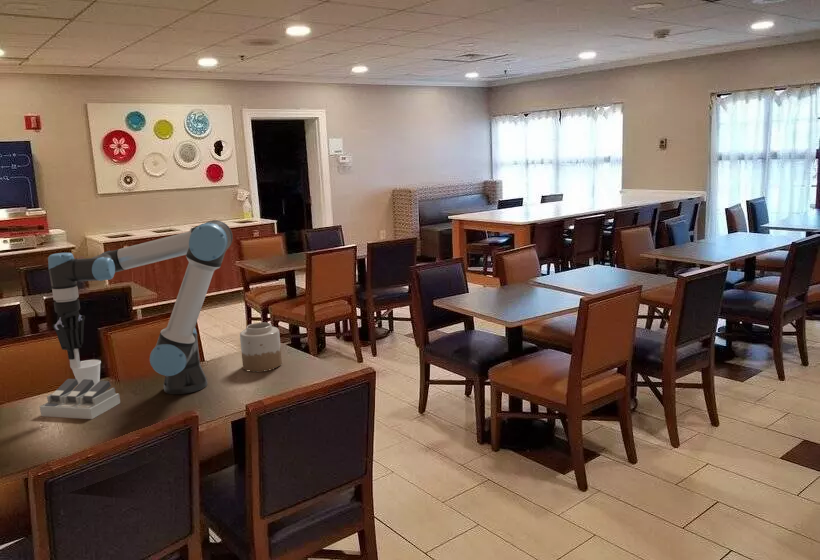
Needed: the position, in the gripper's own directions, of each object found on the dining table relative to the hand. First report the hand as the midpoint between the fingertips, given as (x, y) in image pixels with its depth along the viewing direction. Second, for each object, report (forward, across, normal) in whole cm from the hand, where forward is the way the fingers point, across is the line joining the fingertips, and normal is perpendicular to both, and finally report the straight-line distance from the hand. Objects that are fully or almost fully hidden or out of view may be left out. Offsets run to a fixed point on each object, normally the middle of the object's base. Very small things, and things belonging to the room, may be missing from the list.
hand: (75, 367), depth 218 cm
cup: (+15, -15, -8) cm, 23 cm away
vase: (+14, -48, +46) cm, 67 cm away
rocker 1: (+8, -1, -6) cm, 10 cm away
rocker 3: (+8, 0, +7) cm, 11 cm away
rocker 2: (+8, 0, 0) cm, 8 cm away
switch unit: (+15, 0, 0) cm, 15 cm away
